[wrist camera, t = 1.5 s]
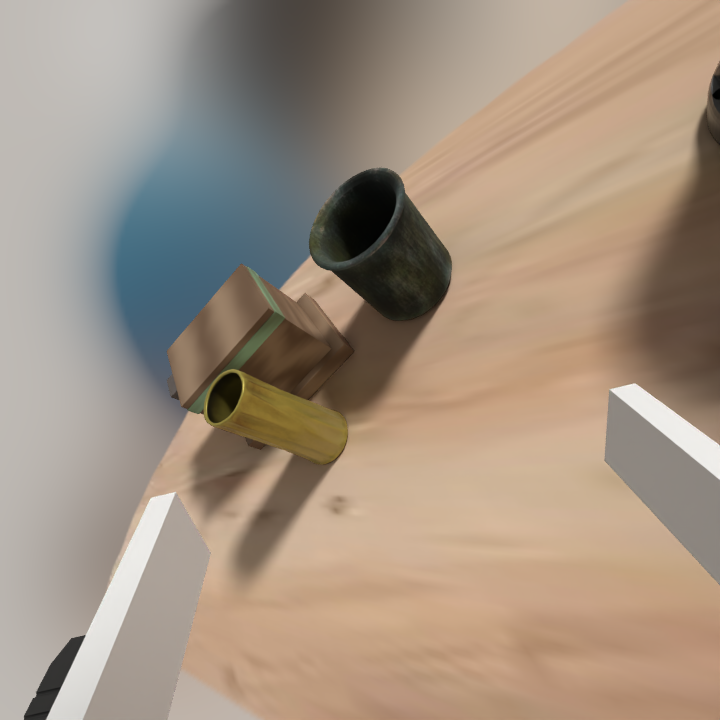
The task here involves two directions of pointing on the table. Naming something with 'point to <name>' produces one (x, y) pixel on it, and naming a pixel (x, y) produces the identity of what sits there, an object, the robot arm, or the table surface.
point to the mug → (381, 245)
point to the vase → (274, 417)
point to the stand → (255, 342)
